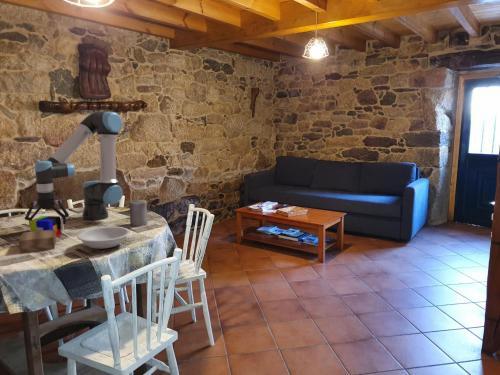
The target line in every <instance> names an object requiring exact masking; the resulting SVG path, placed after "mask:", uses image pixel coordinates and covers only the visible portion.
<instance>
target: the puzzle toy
mask: <svg viewBox="0 0 500 375" xmlns="http://www.w3.org/2000/svg"><path fill="white" fill-rule="evenodd" d="M29 229H30V232H34V231H45V230H55V231H56V238H58V237H59V236H62V226H61V216H60V215H59V216H56V215H41V216H38V217H36V218H33V219H32V220H31V221H30V226H29Z"/></svg>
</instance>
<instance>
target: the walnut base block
mask: <svg viewBox="0 0 500 375" xmlns="http://www.w3.org/2000/svg"><path fill="white" fill-rule="evenodd" d="M56 243H57V237H56V231H55V230H45V231H34V232H31V231H24V232H23V233H22V234H21V237H20V239H19V242H18V244H19V252H20V253H28V252H29V253H31V252H38V251H48V250H55V248H56ZM30 251H31V252H30Z"/></svg>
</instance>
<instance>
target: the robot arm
mask: <svg viewBox="0 0 500 375" xmlns="http://www.w3.org/2000/svg"><path fill="white" fill-rule="evenodd" d="M122 127H123V120H122V118H121V116H120V115H119V114H118V113H117V112H115V111H94V112H92V113H90V114H88V115H87V116H86V117H84V118H83V120H81V121H80V123H79V124H78V125H77V128H76V129H75V131H73V133H71V135H70V136H68V138H67V139H66V140H65V141H63V143H62V144H61V145H60V146H59V147H58V148H57V149H56V150H55V151H54V152H53V153H52V155H50V156H49V157H48V159H46V160H39V161H36V162H35V163H34V165H35V166H34V172H35V180H36V181H35V182H36V191H37V193H36V194H37V195H36V196H37V201H34V200H32V201H31V202H30V206H29V209H28V211H27V213H26V215H25V217H24V220H25V221H28V225H29V226H28V227H30V221H31V220H33V219H35V217H36V216H37V214H38V213H39V212H40V211H41V210H52V211H54V212H55V213H57V215H59V216H60V221H61V232H64V231H65V226H64V225H66V223H67V221H66V218H69V216H70V214H69V212H68V211H67V209H66V208H65V206H64V205H63V203H62V199H57V200H55V191H54V180H55V179H62V178H71V177H74V175H75V174H76V168H75V165H74V164H73V163H71V162H67V161H68V160H69V158H70V157H71V156H73V154H74V153H75V152H76V151H77V150H78V149H79V148H80V147H81V146H82V145H83V144H84V142H86V141H87V139H88V138H89V137H92V136H94V134H96V133H97V136H98V137H99V148H100V149H99V151H100V152H99V156H100V158H99V160H100V162H99V164H100V165H99V166H100V168H99V170H100V171H99V172H100V174H99V175H100V178H99V180H90V181H84V182H83V184H82V190H83V191H82V192H83V202H84V206H83V211H82V214H81V217H82V218H81V219H82V220H85V221H99V220H100V221H101V220H104V219H107V218H109V212H108V209H107V207H106V205H115V204H117V203H119V202H120V201H121V199H122V197H123V194H124V192H123V189H122V188H121V186H120V185H119V184H120V183H119V180H118V179H117V177H116V176H117V169H116V168H117V160H116V158H117V157H116V156H117V155H116V154H117V152H116V151H117V147H116V145H117V144H116V142H117V141H116V138H117V137H119V132H120V131H121V130H122ZM55 204H57V205H58V206H59V207H60V209H61V210H62V211H61V210H59V208H57V207H56V206H55ZM36 205H37V206H38V208H37V209H36V210H35V211H34V212H33V214H32V215H31V213H32V210H33V208H34V207H36ZM30 215H31V216H30Z"/></svg>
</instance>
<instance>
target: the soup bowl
mask: <svg viewBox="0 0 500 375" xmlns="http://www.w3.org/2000/svg"><path fill="white" fill-rule="evenodd" d="M130 233H131V230H130V229H128V228H127V227H122V226H101V227H99V226H98V227H93V228H89V229H86V230H83V231H80V232H79V233H78V234H76V235H77V236H76V239H77V240H79V241H81V242H82V243H83V244H84V245H85V246H86V247H89V248H92V249H95V250H96V249H98V250H99V249H101V250H102V249H103V250H104V249H109V248H114V247H117V246H119V245H120V244H122V243H123V242H124V241H125V239H126V238H127V236H129V235H130Z"/></svg>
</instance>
